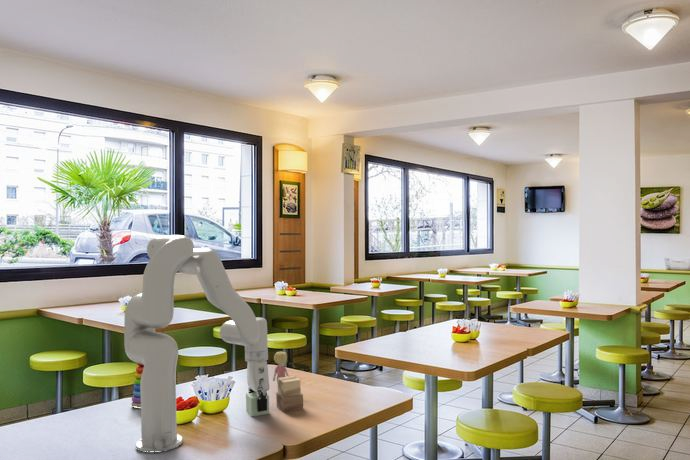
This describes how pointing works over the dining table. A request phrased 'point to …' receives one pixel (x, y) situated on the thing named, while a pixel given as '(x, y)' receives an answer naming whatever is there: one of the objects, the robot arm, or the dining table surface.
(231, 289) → the robot arm
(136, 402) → the stacking toy
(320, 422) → the dining table surface
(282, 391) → the tower top
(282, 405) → the tower base
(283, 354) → the toy
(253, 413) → the green cube
